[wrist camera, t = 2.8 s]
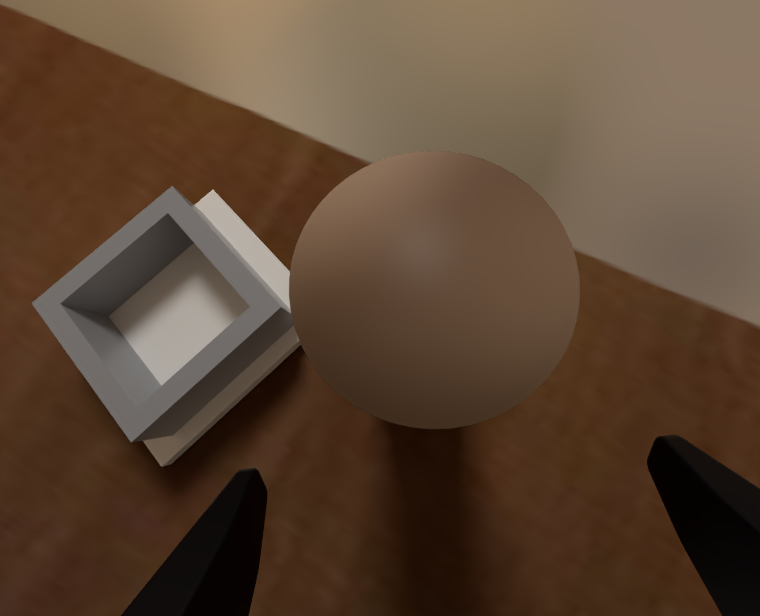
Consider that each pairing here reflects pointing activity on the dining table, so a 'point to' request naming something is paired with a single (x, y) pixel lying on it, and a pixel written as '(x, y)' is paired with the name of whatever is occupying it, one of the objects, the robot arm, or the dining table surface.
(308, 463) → the dining table surface
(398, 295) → the maple knob
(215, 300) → the plate
